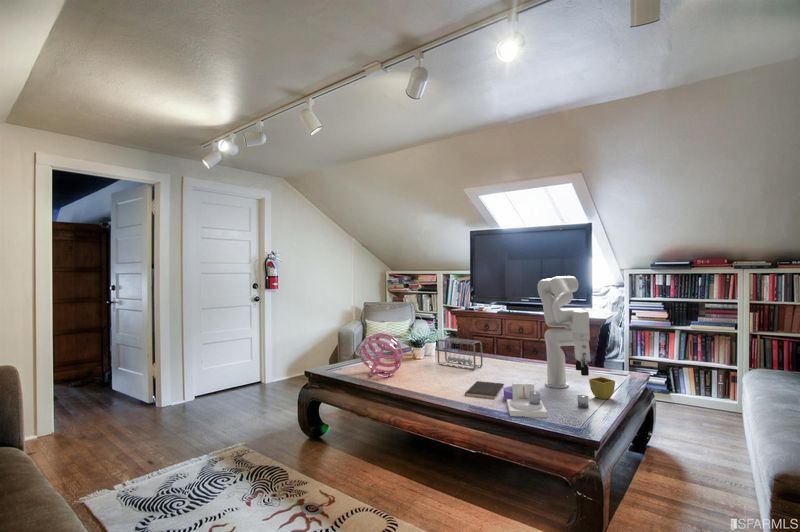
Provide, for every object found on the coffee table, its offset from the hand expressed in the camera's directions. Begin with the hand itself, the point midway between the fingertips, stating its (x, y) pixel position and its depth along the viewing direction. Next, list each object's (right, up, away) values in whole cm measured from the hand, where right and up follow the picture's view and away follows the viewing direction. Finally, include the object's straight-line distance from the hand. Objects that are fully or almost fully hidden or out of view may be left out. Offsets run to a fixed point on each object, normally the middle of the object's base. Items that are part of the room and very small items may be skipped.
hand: (582, 372), depth 192 cm
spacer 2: (0, -16, 0) cm, 16 cm away
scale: (-27, -17, -2) cm, 32 cm away
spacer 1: (-24, -13, -4) cm, 27 cm away
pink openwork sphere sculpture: (-97, -19, +68) cm, 120 cm away
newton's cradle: (-45, -18, +87) cm, 100 cm away
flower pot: (+16, -16, +12) cm, 26 cm away
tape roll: (-27, -17, +14) cm, 35 cm away
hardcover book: (-40, -18, +28) cm, 52 cm away
